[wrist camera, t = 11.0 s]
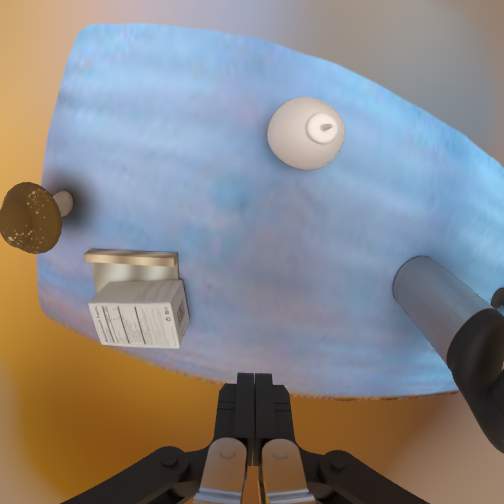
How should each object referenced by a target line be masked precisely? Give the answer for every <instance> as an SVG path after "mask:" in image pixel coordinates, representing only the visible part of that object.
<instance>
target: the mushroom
mask: <svg viewBox="0 0 504 504" xmlns="http://www.w3.org/2000/svg"><path fill="white" fill-rule="evenodd" d="M72 208H73V197H72V196H71V194H70V193H69V192H67V191H60V192H58V193H56V194H55V195H54V196H52V195H51V194H50V193H49V192H48V191H47V190H46V189H44V188H43V187H41V186H40V185H37V184H34V183H31V182H23V183H20V184H17V185H15V186H14V187H13V188H12V189H10V190H9V191H8V193H7V195H6V196H5V199H4V202H3V205H2V208H1V210H0V233H1V235H2V236H3V238H4V240H5V241H6V242H7V243H9V244H10V245H12V246H14V247H17V248H20V249H21V250H24V251H26V252H28V253H33V254H39V253H44V252H47V251H49V250H50V249H52V248H53V247H54V246H55V244H56V243H57V242H58V239H59V237H60V234H61V228H62V220H61V217H64V216H66V215H68V214H69V213H70V212H71V210H72Z"/></svg>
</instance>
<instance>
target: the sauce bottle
mask: <svg viewBox="0 0 504 504" xmlns="http://www.w3.org/2000/svg"><path fill="white" fill-rule="evenodd" d="M267 137H268V143H269V145H270V148H271V149H272V151H273V152H274V154H275V155H276V156H277V157H278V158H279V159H280V160H282V161H283V162H284V163H286V164H288V165H290V166H292V167H295V168H298V169H303V170H314V169H318V168H321V167H323V166H325V165H327V164H328V163H330V162H331V161H332V160H333V159H334V158H335V157H336V156H337V154H338V153H339V152H340V150H341V148H342V146H343V143H344V139H345V125H344V122H343V120H342V118H341V117H340V115H339V114H338V113H337V111H336V110H335V109H334V108H332V107H331V106H330V105H329V104H327V103H325V102H323V101H321V100H318V99H315V98H310V97H298V98H295V99H291V100H289V101H288V102H286V103H284V104H283V105H282V106H281V107H280V108H278V110H277V111H276V112H275V113H274V115H273V117H272V119H271V121H270V123H269V127H268V134H267Z"/></svg>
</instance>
